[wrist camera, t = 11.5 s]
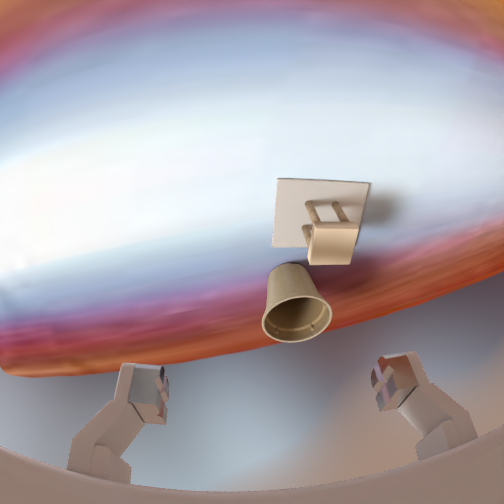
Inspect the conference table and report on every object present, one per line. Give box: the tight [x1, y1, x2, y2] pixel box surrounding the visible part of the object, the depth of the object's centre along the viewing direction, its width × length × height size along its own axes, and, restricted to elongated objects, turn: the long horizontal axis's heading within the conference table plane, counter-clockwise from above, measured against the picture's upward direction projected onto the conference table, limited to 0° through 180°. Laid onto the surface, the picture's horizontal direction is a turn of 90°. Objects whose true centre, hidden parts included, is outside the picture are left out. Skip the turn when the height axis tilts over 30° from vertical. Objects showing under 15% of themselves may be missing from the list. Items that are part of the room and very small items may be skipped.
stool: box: [301, 200, 359, 265], centre depth 38 cm, size 5×5×7 cm
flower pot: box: [262, 263, 332, 342], centre depth 44 cm, size 9×9×9 cm
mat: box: [272, 178, 369, 247], centre depth 41 cm, size 10×12×1 cm
